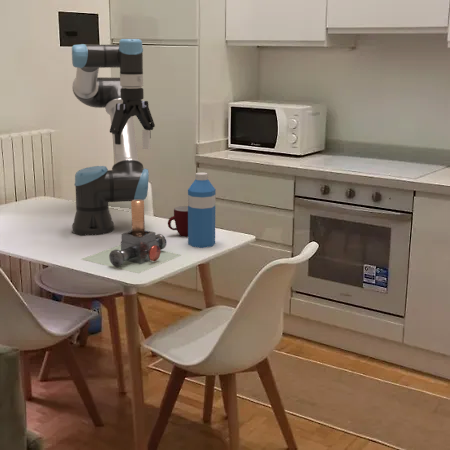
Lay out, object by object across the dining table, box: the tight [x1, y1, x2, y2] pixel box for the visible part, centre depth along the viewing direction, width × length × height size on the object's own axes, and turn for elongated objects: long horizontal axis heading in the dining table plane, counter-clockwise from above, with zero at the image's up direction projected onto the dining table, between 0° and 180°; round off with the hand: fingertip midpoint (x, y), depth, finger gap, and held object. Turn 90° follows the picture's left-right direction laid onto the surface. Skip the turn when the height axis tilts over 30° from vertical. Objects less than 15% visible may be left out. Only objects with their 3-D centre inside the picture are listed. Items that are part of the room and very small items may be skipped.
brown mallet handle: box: [130, 199, 146, 237], centre depth 217 cm, size 4×4×13 cm
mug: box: [167, 205, 188, 238], centre depth 246 cm, size 10×8×10 cm
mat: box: [80, 244, 182, 274], centre depth 222 cm, size 24×22×1 cm
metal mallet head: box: [109, 229, 167, 267], centre depth 219 cm, size 11×22×8 cm, turn 147°
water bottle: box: [187, 172, 217, 249], centre depth 234 cm, size 9×9×25 cm
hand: (133, 151), depth 232 cm, fingers open, 13 cm apart
